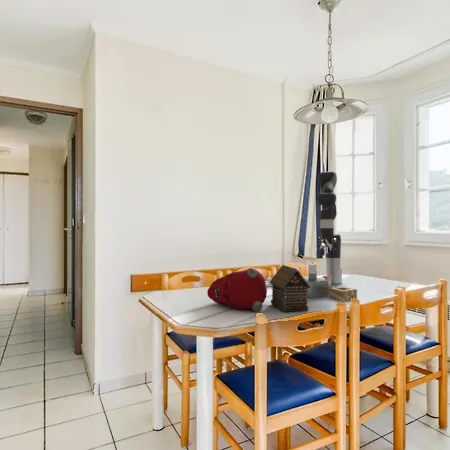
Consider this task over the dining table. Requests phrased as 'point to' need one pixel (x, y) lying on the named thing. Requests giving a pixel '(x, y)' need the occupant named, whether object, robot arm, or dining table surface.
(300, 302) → the model building
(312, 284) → the grey tissue box
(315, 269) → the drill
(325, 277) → the release plunger
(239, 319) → the dining table surface
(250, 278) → the mask
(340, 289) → the brown square box
